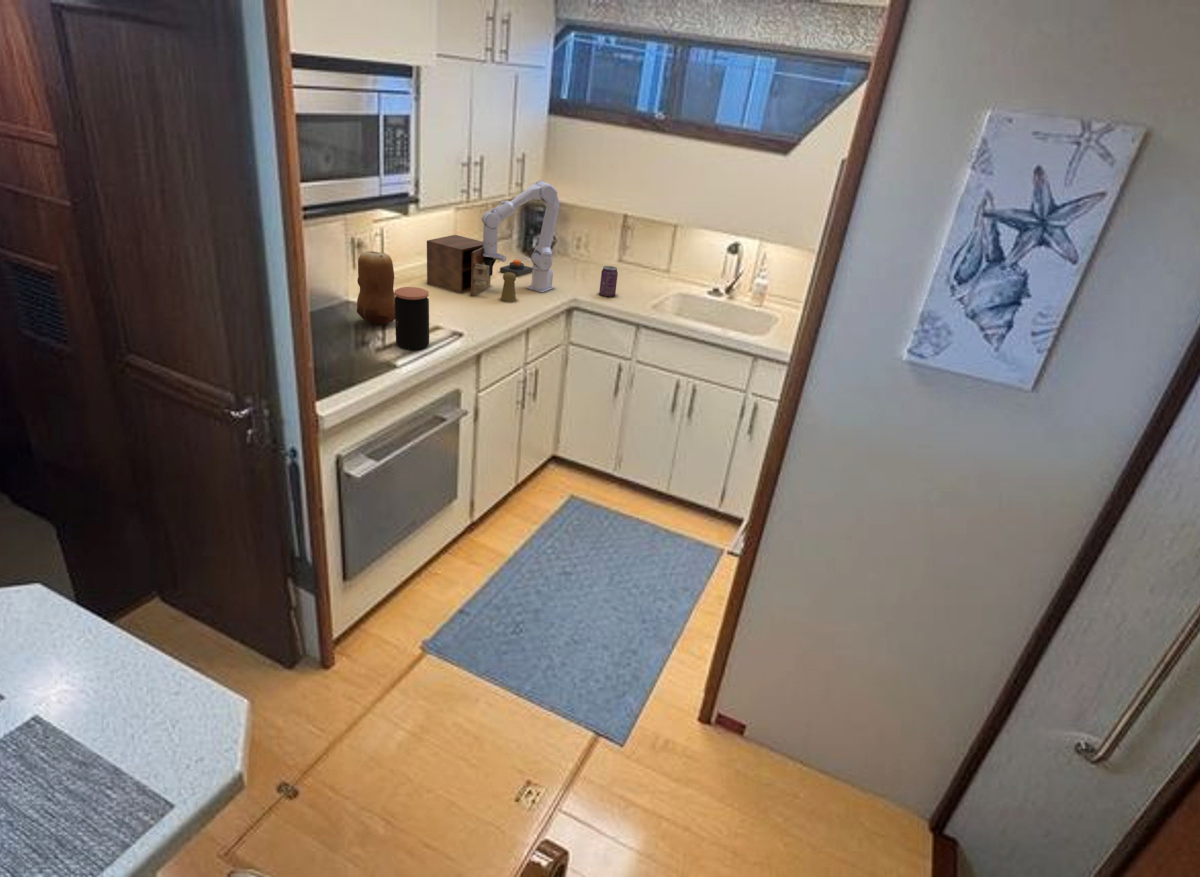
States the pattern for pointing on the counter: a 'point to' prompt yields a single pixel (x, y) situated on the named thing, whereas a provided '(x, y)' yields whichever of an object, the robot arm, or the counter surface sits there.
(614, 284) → the beverage can
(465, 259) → the cupboard
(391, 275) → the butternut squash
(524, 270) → the switch block
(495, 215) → the robot arm
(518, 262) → the button
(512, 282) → the pepper shaker
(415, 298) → the coffee jar
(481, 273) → the door
